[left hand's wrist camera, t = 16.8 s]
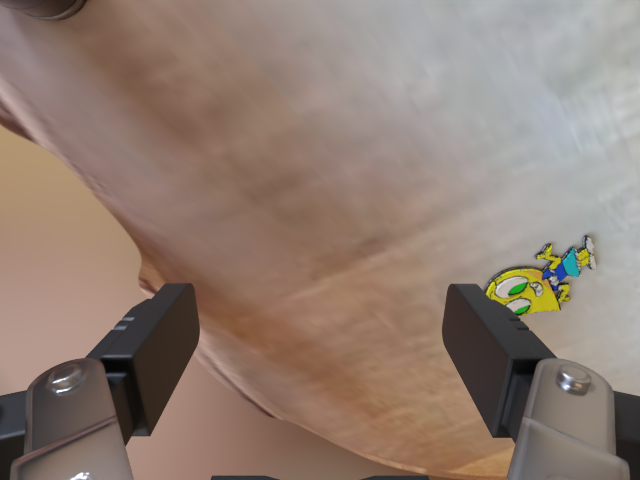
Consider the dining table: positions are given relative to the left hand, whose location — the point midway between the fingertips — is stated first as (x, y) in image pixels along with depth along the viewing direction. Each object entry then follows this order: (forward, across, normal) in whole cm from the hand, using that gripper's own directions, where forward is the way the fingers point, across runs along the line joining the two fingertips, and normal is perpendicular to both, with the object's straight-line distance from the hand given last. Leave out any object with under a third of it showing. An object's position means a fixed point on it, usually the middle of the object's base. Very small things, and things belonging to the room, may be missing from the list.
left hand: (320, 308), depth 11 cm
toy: (+30, -27, +15) cm, 44 cm away
